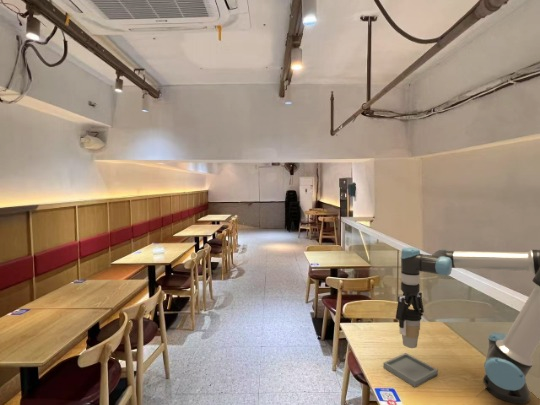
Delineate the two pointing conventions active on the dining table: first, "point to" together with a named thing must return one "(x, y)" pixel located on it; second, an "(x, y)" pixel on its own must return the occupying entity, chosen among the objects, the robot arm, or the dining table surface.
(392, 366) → the tray
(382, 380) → the dining table surface
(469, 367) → the dining table surface
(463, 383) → the dining table surface
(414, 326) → the coffee cup
